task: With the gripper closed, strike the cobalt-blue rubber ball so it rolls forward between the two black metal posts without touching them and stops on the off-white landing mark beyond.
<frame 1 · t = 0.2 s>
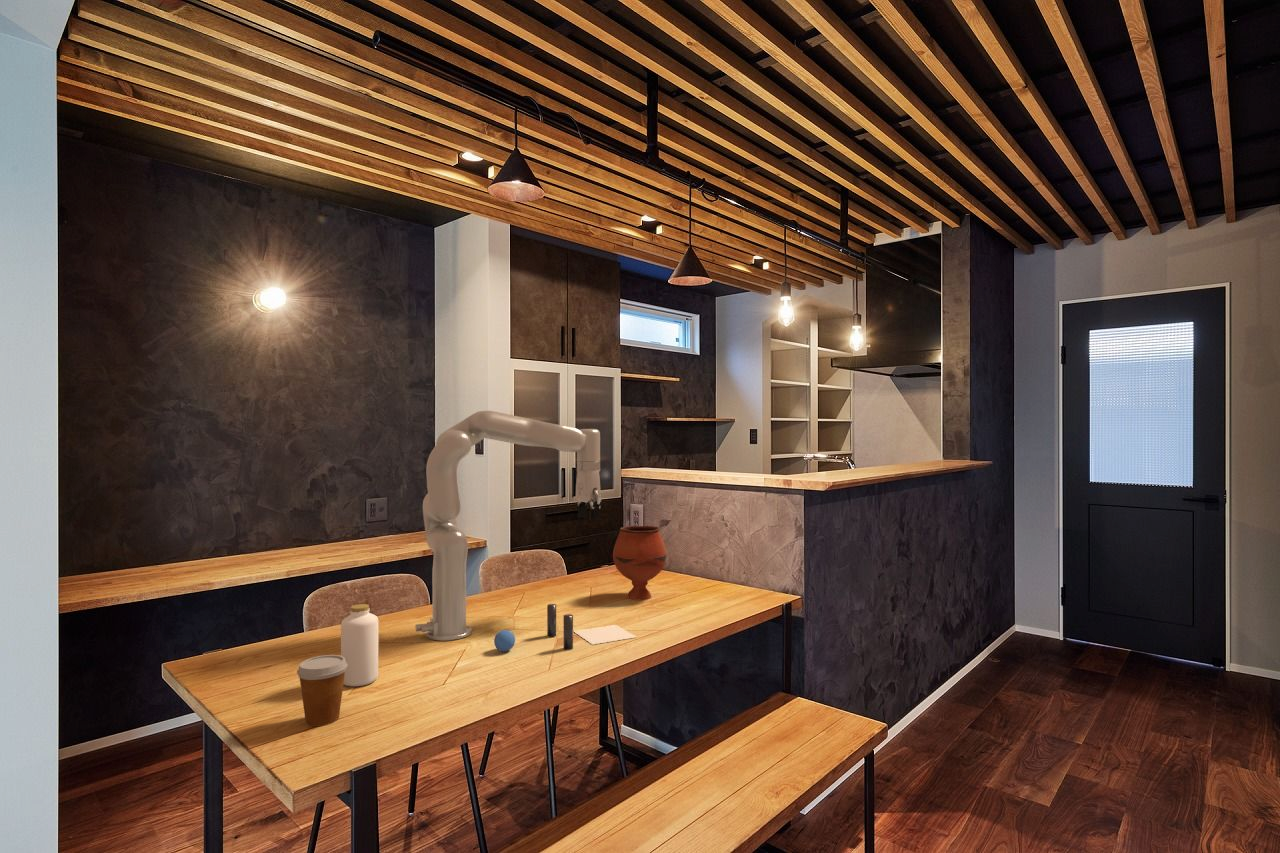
hand: (588, 519, 217), 31 cm above the table, tool pointing down, fingers open, 9 cm apart
post 2: (568, 648, 183), on the table
post 1: (551, 635, 195), on the table
ball: (504, 640, 181), on the table
goblet: (639, 597, 240), on the table
landing mark: (604, 634, 196), on the table
disposable coffee cup: (322, 720, 138), on the table
potion bottle: (359, 682, 159), on the table
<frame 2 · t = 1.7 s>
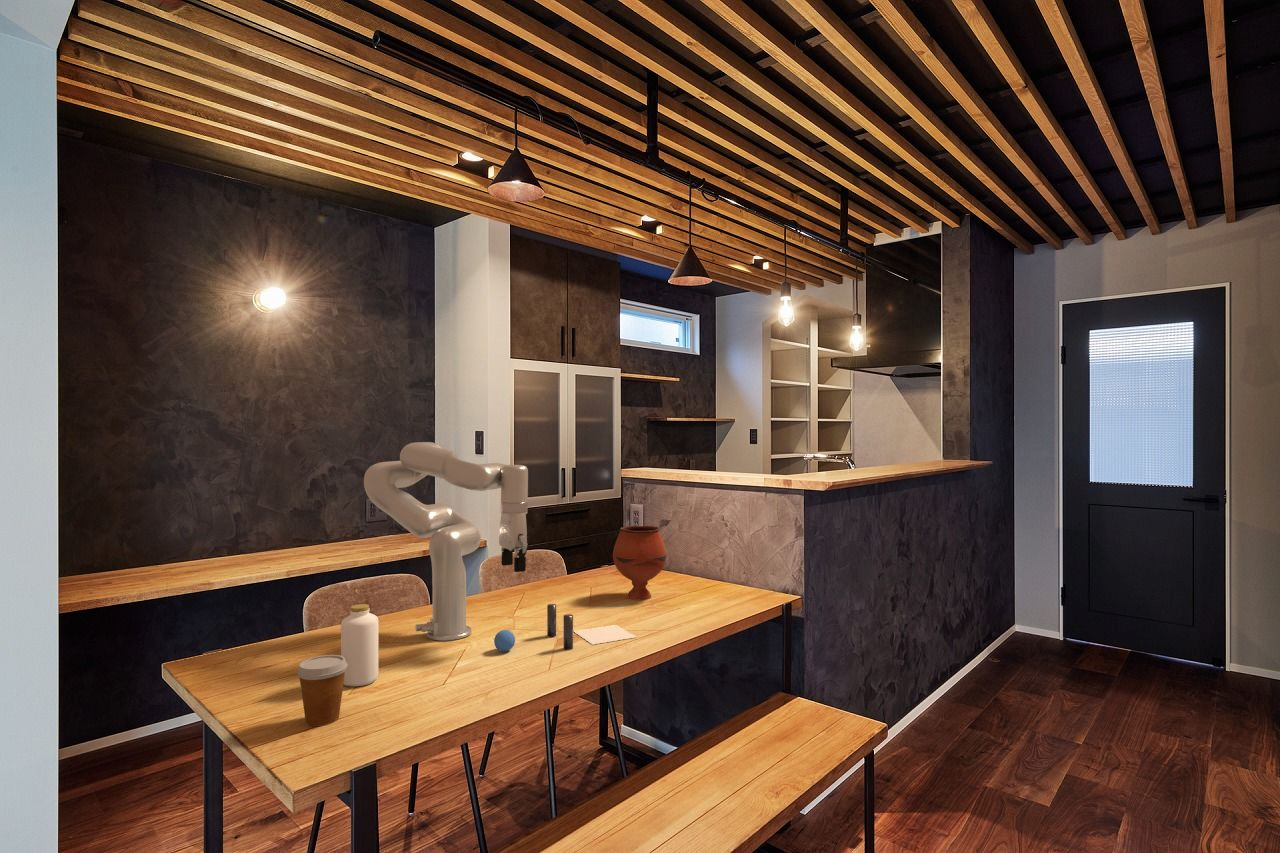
hand: (513, 568, 190), 21 cm above the table, tool pointing down, fingers open, 9 cm apart
nothing on the table moved.
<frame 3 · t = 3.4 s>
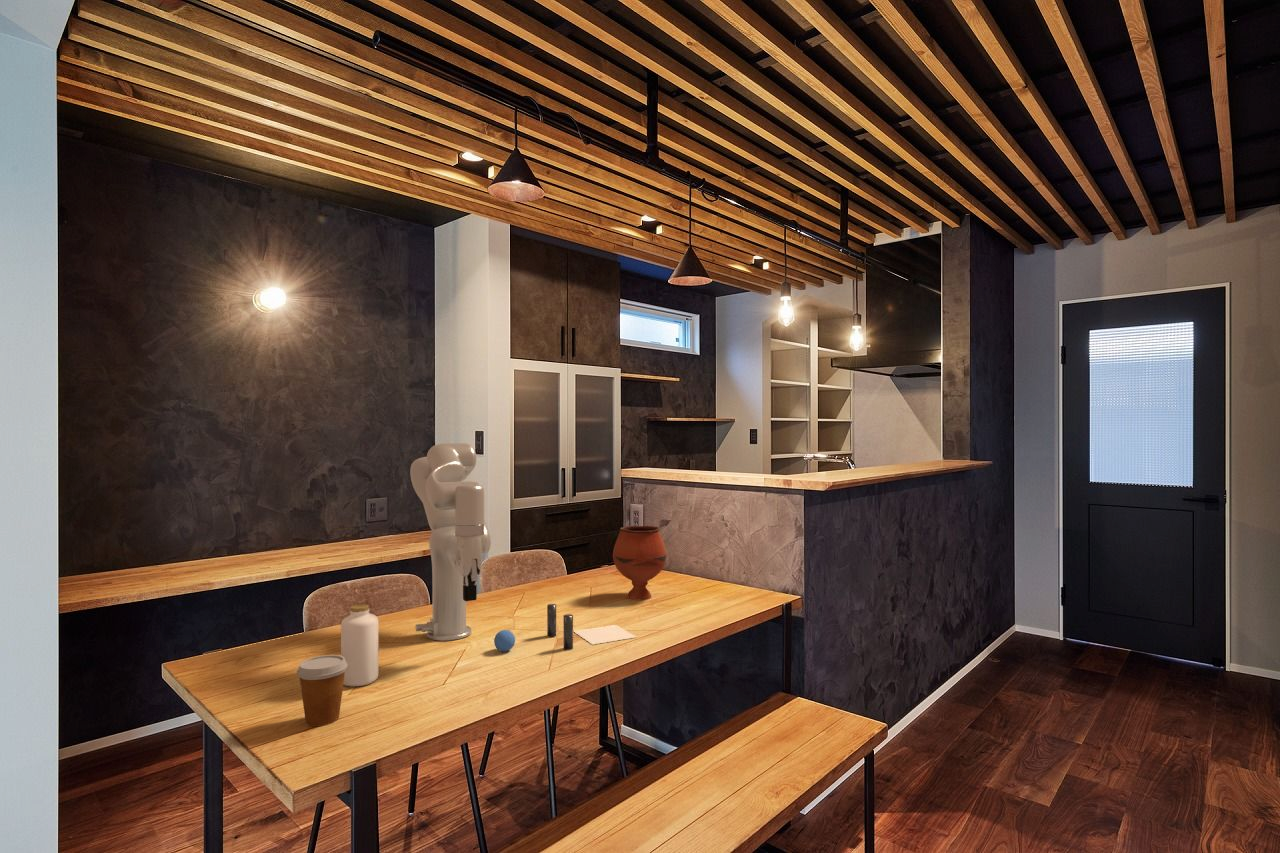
hand: (469, 599, 177), 15 cm above the table, tool pointing down, fingers closed
nothing on the table moved.
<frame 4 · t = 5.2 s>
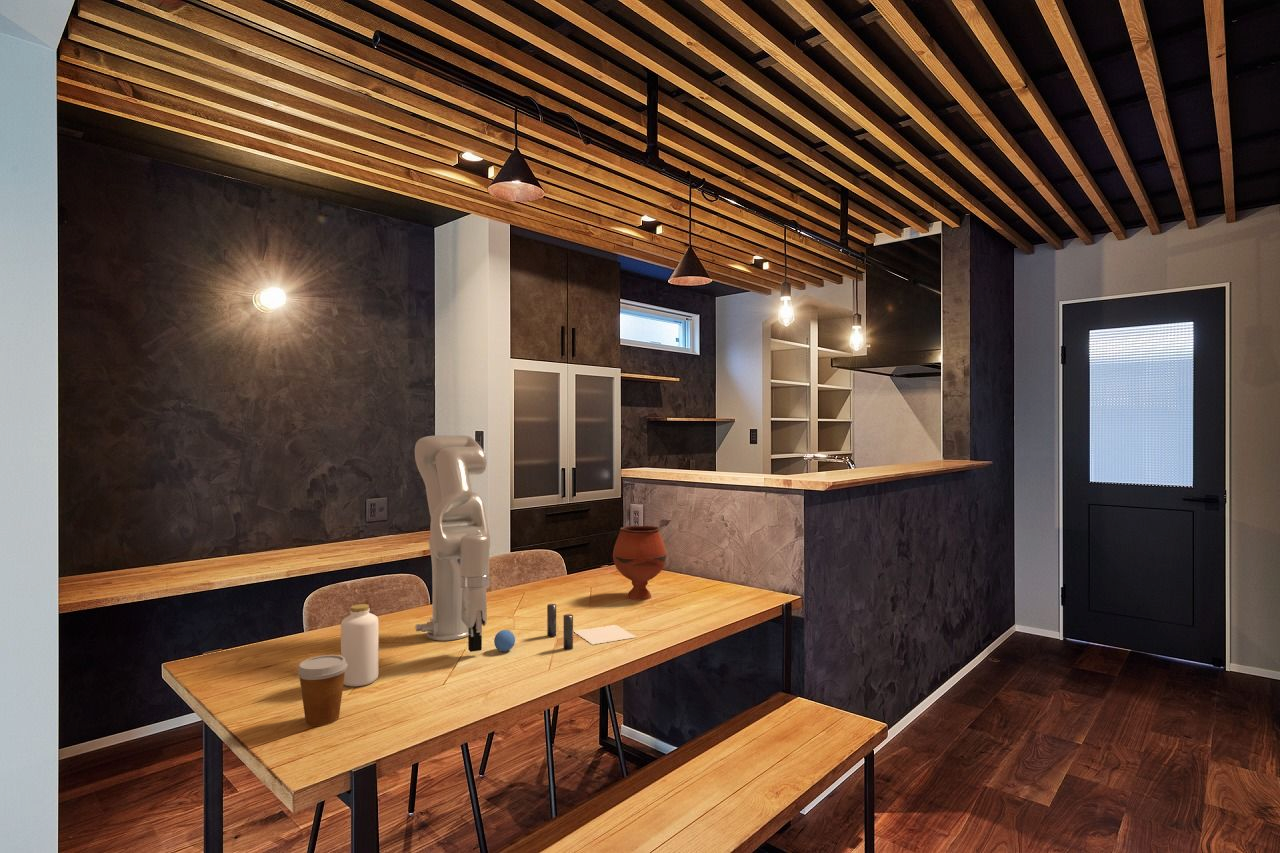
hand: (474, 650, 178), 2 cm above the table, tool pointing down, fingers closed
nothing on the table moved.
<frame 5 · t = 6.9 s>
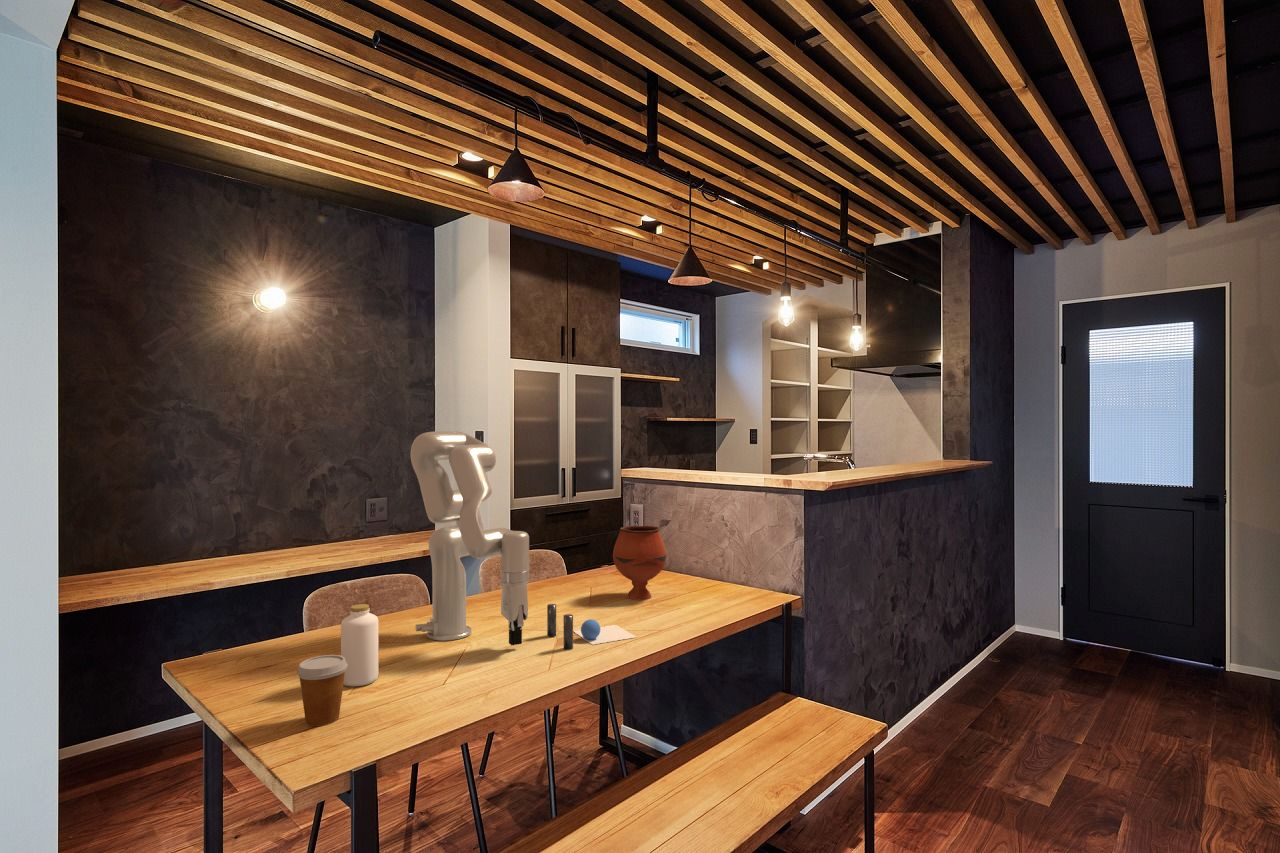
hand: (515, 643, 183), 2 cm above the table, tool pointing down, fingers closed
ball: (590, 629, 191), on the table
everything else where it was.
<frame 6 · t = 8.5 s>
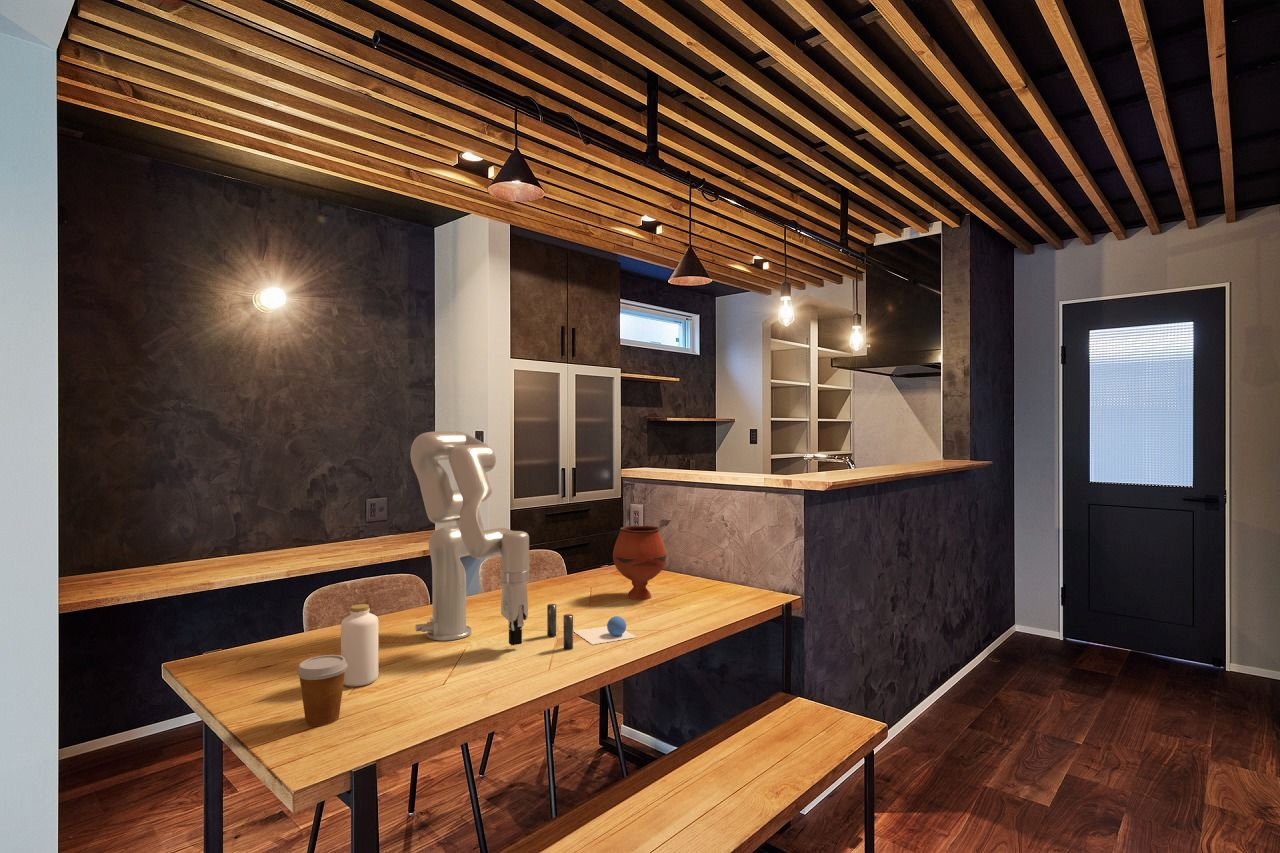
hand: (515, 643, 183), 2 cm above the table, tool pointing down, fingers closed
ball: (616, 626, 195), on the table
everything else where it was.
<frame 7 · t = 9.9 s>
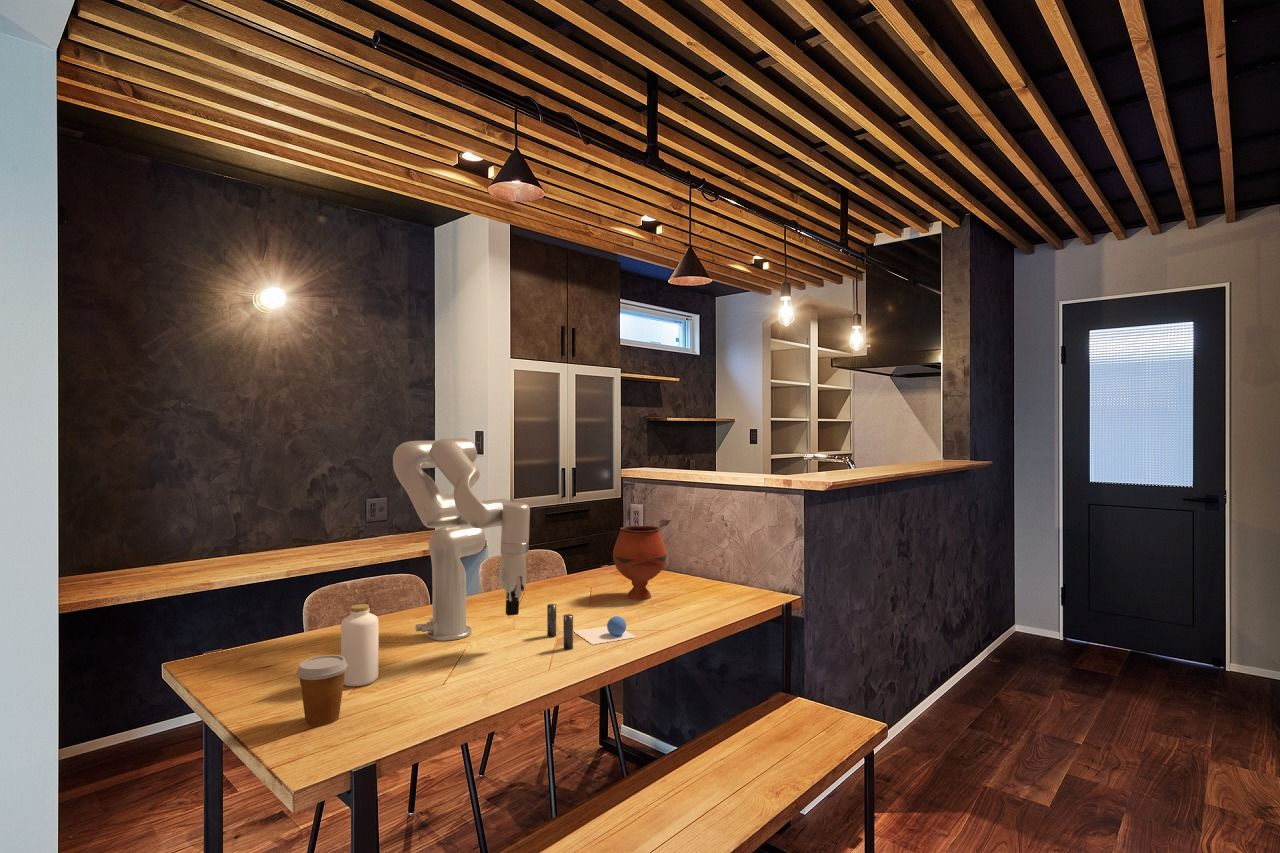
hand: (512, 614, 184), 9 cm above the table, tool pointing down, fingers closed
nothing on the table moved.
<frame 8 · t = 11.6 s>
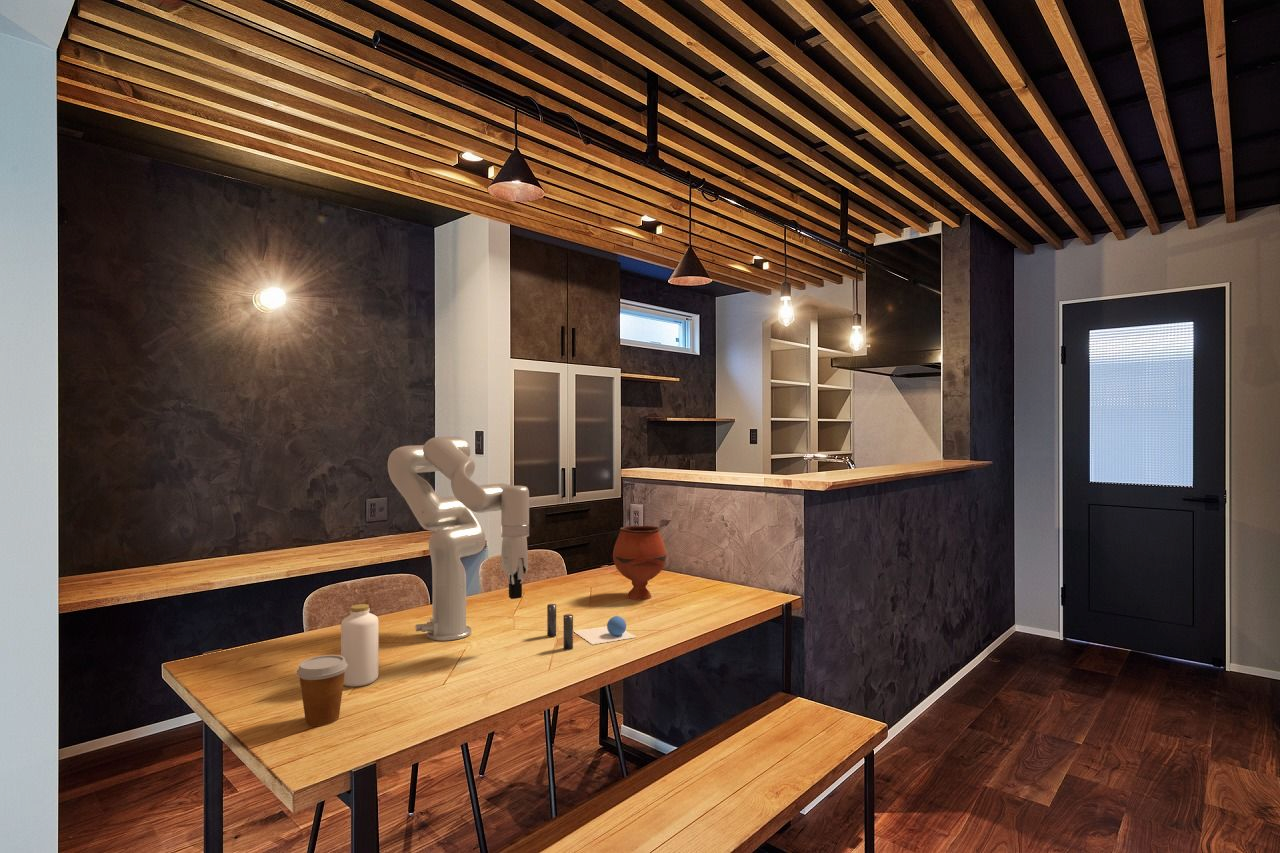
hand: (515, 597, 183), 14 cm above the table, tool pointing down, fingers closed
nothing on the table moved.
at the end: ball 3.7 cm from the landing mark (horizontally); ball never touched post 1; ball never touched post 2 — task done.
